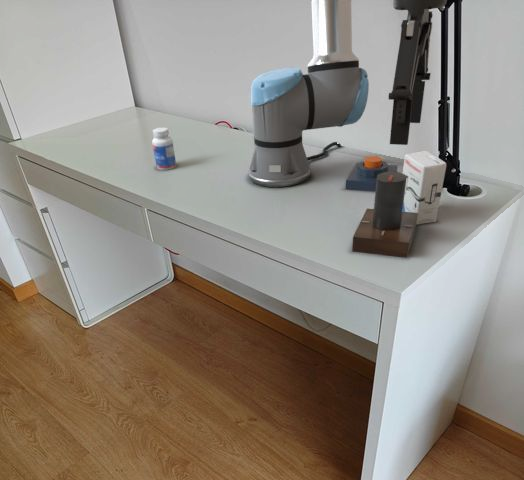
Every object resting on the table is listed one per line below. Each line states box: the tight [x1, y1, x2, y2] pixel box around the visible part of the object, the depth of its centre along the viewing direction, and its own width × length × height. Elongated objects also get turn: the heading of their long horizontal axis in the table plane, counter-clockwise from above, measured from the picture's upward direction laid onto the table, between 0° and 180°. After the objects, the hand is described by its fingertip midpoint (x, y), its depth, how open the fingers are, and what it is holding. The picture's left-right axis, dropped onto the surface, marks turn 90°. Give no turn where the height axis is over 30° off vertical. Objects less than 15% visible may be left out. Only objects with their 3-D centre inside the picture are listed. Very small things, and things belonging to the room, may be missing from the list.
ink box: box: [402, 150, 447, 226], centre depth 99 cm, size 9×5×12 cm, turn 13°
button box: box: [345, 160, 399, 193], centre depth 118 cm, size 12×10×4 cm
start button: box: [364, 155, 383, 168], centre depth 116 cm, size 4×4×2 cm
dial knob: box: [373, 171, 407, 230], centre depth 91 cm, size 5×5×9 cm
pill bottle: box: [151, 127, 177, 171], centre depth 133 cm, size 6×5×10 cm
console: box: [351, 208, 418, 259], centre depth 95 cm, size 13×10×3 cm
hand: (405, 132), depth 84 cm, fingers open, 13 cm apart
